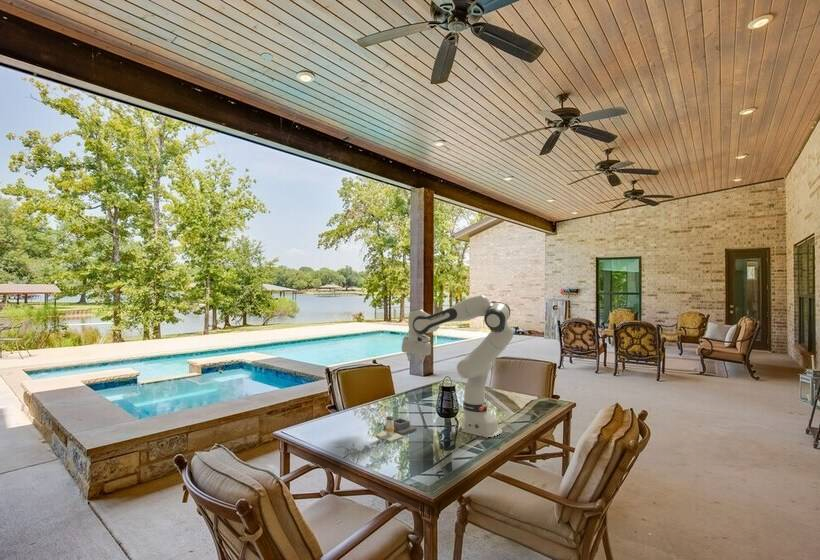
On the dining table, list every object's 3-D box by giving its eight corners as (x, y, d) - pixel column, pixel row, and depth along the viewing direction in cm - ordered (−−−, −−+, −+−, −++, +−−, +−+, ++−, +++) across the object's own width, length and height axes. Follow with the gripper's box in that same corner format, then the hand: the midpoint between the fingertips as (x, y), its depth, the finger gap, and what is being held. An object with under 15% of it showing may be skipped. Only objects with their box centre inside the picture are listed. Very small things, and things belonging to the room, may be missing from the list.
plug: (395, 435, 203) (396, 417, 203) (389, 437, 200) (389, 419, 200) (390, 433, 206) (390, 415, 206) (383, 435, 203) (383, 417, 203)
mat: (403, 437, 202) (403, 436, 202) (390, 442, 196) (390, 440, 196) (388, 431, 210) (389, 430, 210) (375, 436, 204) (375, 434, 204)
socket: (416, 430, 213) (416, 422, 213) (401, 435, 205) (401, 426, 205) (398, 423, 223) (398, 415, 223) (383, 428, 215) (383, 420, 215)
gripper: (399, 336, 235) (399, 360, 234) (425, 339, 221) (425, 364, 220) (406, 335, 239) (406, 359, 239) (432, 338, 225) (432, 363, 225)
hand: (415, 361), depth 229 cm, fingers open, 8 cm apart
